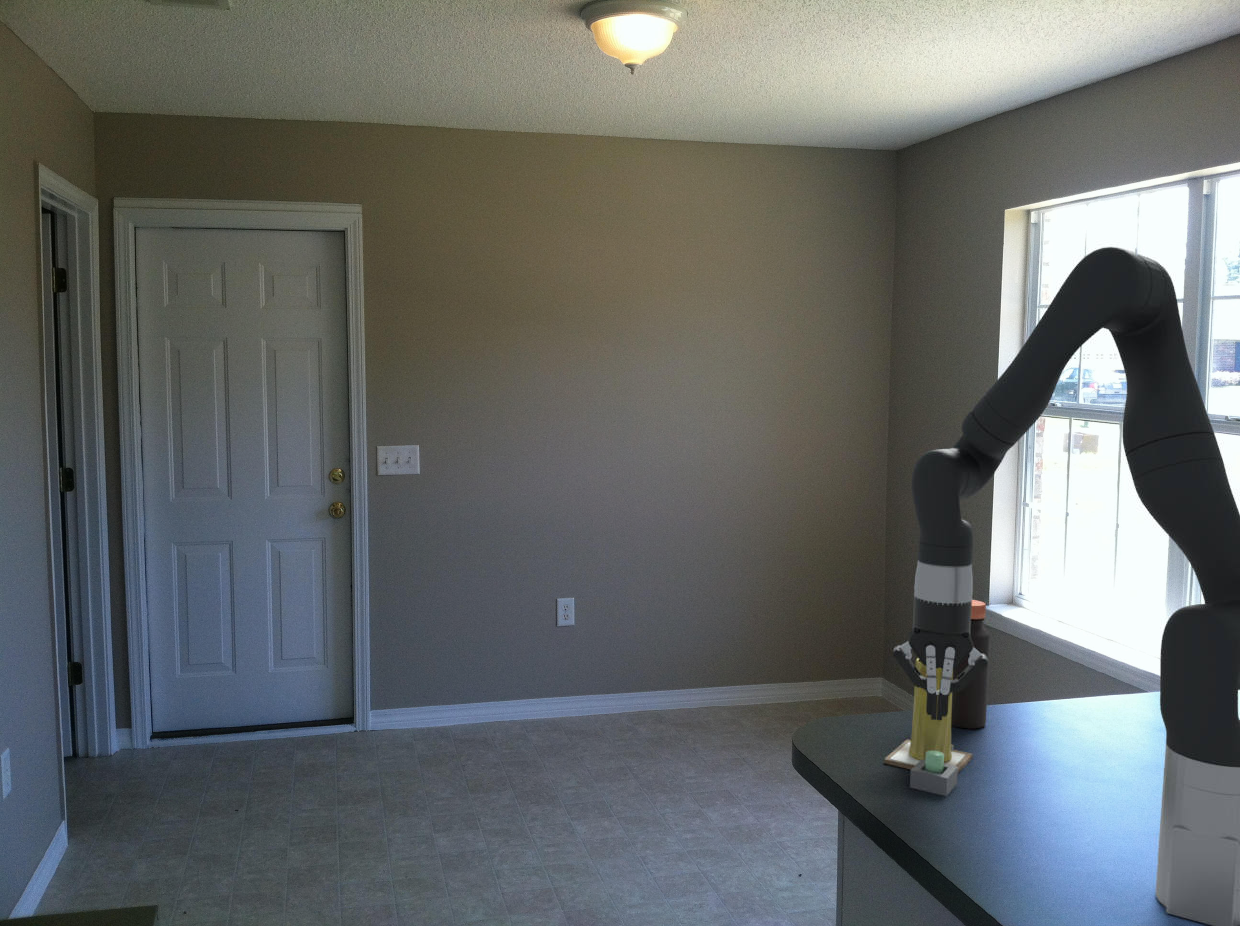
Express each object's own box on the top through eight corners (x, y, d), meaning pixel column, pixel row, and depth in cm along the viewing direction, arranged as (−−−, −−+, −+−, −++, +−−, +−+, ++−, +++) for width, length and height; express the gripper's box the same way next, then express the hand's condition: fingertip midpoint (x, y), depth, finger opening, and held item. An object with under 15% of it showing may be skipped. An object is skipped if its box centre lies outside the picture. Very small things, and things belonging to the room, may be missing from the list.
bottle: (933, 720, 171) (939, 601, 169) (957, 712, 176) (963, 595, 174) (970, 732, 166) (976, 609, 164) (994, 724, 170) (1000, 603, 168)
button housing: (946, 796, 141) (947, 778, 141) (909, 787, 144) (910, 769, 144) (956, 784, 145) (957, 766, 145) (921, 775, 148) (922, 758, 148)
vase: (904, 758, 153) (909, 663, 151) (913, 745, 158) (917, 653, 157) (947, 766, 150) (952, 669, 149) (955, 752, 155) (959, 658, 154)
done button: (940, 780, 143) (941, 758, 142) (922, 776, 144) (923, 754, 144) (945, 775, 145) (946, 752, 144) (928, 771, 146) (929, 749, 146)
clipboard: (952, 779, 147) (953, 769, 147) (884, 763, 153) (884, 753, 152) (972, 757, 155) (973, 748, 155) (906, 743, 161) (907, 734, 161)
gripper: (891, 596, 140) (885, 721, 142) (995, 605, 137) (988, 733, 138) (894, 585, 148) (888, 704, 149) (993, 593, 144) (986, 715, 145)
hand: (936, 718), depth 144 cm, fingers closed
